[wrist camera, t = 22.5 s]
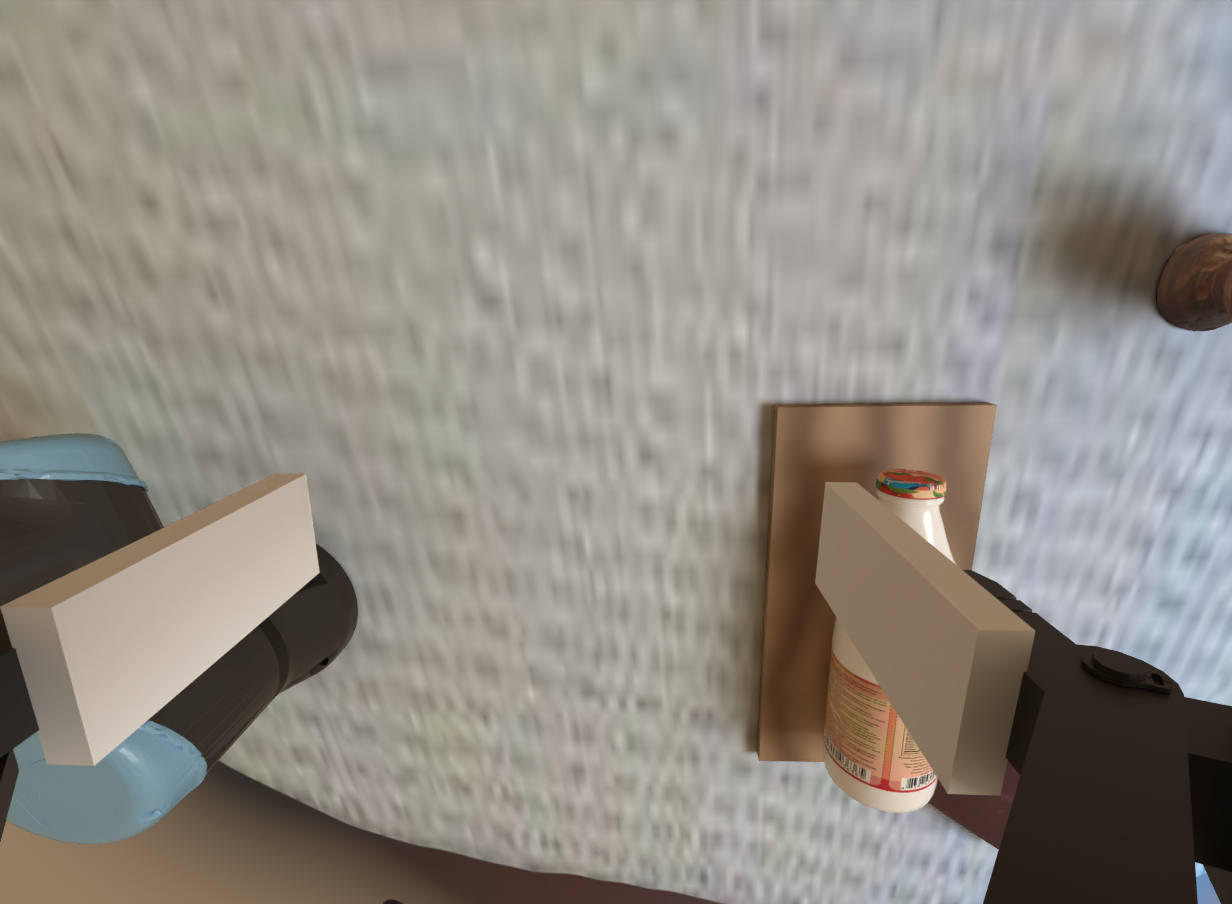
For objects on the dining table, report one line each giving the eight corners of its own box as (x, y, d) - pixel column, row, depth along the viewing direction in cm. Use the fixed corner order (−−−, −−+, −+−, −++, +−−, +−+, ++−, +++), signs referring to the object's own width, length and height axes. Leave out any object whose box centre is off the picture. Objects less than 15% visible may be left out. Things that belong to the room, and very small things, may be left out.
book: (1137, 710, 57) (1166, 734, 54) (992, 833, 61) (1012, 862, 58) (1045, 641, 55) (1069, 661, 52) (904, 772, 60) (918, 798, 57)
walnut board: (756, 751, 59) (759, 760, 58) (774, 405, 50) (778, 407, 49) (936, 754, 58) (942, 763, 57) (988, 402, 49) (996, 405, 48)
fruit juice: (815, 794, 50) (842, 487, 43) (827, 723, 58) (850, 456, 51) (939, 833, 46) (990, 503, 39) (932, 752, 54) (974, 467, 47)
